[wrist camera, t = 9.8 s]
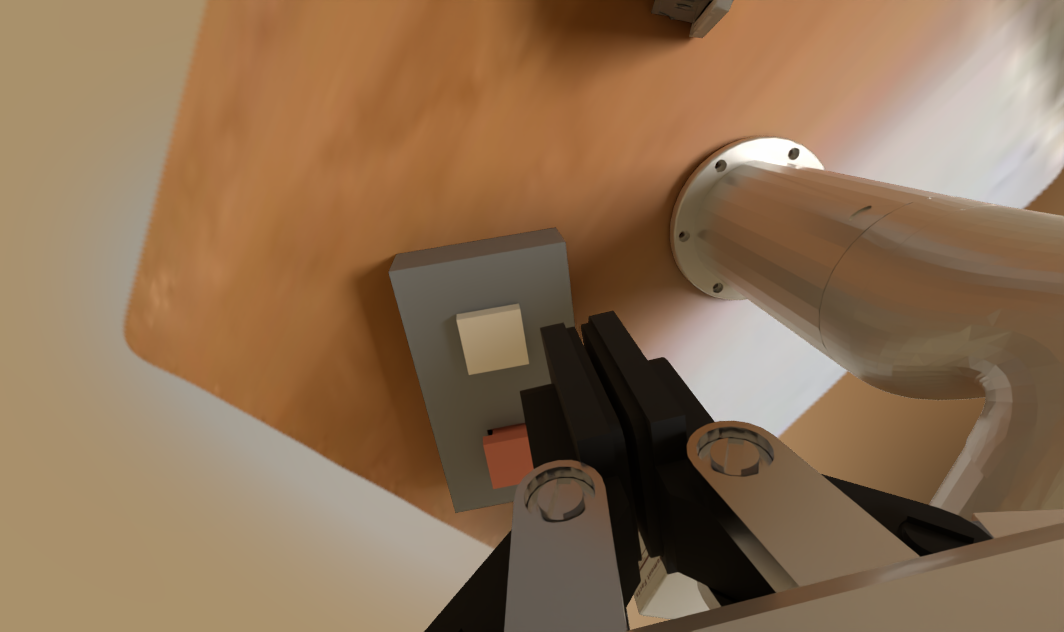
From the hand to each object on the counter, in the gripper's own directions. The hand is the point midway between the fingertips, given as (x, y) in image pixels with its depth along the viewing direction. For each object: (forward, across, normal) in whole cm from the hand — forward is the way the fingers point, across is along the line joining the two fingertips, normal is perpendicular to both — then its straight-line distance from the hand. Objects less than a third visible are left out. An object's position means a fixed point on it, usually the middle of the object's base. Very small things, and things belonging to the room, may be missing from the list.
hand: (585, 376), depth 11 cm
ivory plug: (+25, +3, +10) cm, 27 cm away
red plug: (+24, +4, +20) cm, 31 cm away
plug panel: (+26, +4, +14) cm, 30 cm away
